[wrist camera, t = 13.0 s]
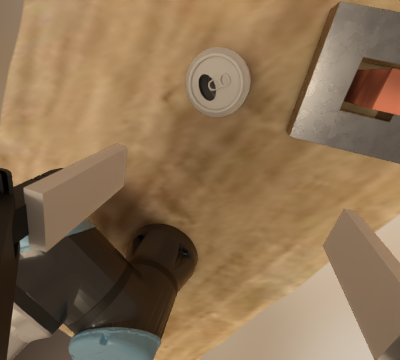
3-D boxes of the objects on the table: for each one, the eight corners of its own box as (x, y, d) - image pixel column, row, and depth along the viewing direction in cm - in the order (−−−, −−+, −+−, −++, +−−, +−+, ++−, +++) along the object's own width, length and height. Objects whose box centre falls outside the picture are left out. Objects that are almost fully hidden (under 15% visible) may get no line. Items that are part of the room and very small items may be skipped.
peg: (370, 106, 34) (411, 118, 25) (341, 100, 34) (371, 109, 25) (385, 76, 32) (435, 77, 23) (354, 70, 33) (392, 68, 24)
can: (195, 67, 37) (170, 63, 26) (242, 44, 34) (236, 31, 23) (212, 113, 39) (196, 128, 28) (257, 96, 36) (258, 105, 26)
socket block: (392, 156, 36) (407, 165, 32) (286, 130, 37) (289, 136, 34) (464, 35, 29) (493, 29, 25) (330, 10, 31) (340, 1, 27)
